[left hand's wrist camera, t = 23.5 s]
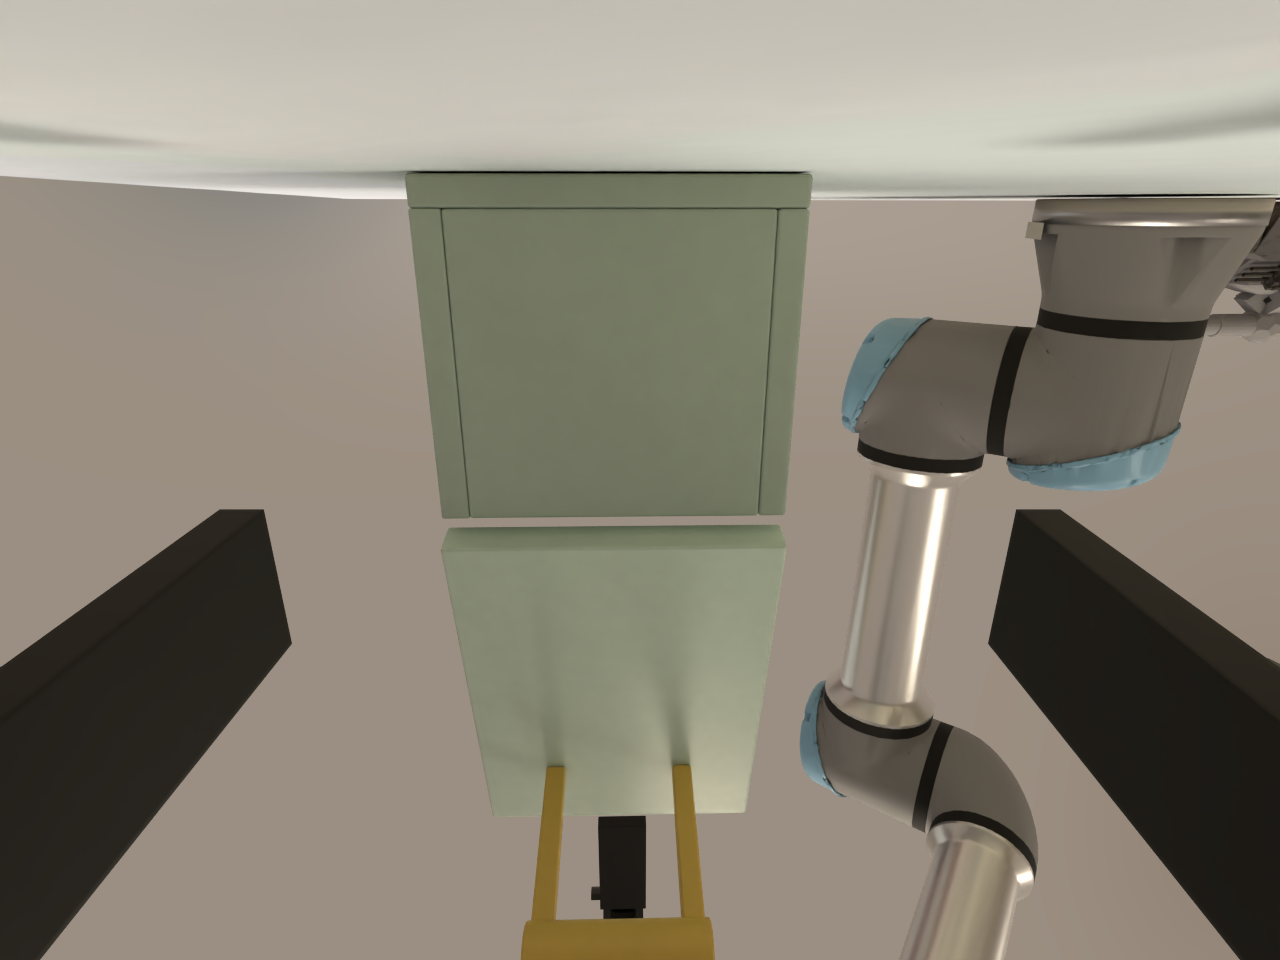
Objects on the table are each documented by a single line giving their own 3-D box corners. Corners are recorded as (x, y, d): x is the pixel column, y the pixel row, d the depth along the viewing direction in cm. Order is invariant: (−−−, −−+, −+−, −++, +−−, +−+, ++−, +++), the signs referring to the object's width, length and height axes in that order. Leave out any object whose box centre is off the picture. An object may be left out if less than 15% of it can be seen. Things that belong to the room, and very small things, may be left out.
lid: (741, 788, 29) (777, 1019, 23) (496, 792, 29) (459, 1026, 22) (780, 523, 22) (851, 755, 15) (447, 526, 21) (368, 762, 15)
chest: (735, 187, 30) (726, 402, 33) (494, 187, 29) (508, 404, 33) (813, 173, 18) (786, 516, 21) (403, 173, 17) (441, 519, 21)
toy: (1522, 200, 67) (1456, 358, 72) (1319, 202, 86) (1278, 327, 91) (1271, 200, 65) (1222, 361, 71) (1119, 201, 84) (1090, 329, 89)
